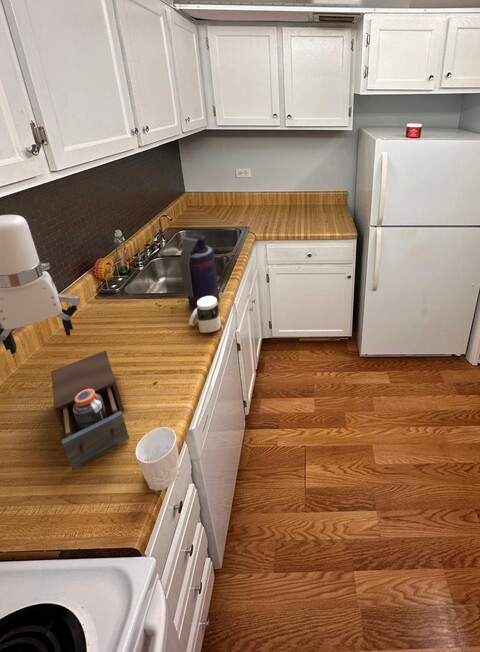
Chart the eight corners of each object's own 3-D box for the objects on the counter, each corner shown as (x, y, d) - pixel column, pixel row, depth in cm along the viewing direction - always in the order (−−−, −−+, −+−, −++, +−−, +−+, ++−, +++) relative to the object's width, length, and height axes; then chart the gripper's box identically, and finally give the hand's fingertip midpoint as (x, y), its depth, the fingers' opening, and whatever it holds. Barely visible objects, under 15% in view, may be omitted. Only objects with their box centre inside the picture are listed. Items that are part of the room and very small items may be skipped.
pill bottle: (115, 424, 83) (104, 390, 79) (91, 444, 78) (78, 409, 74) (100, 414, 86) (89, 381, 82) (76, 433, 81) (63, 399, 77)
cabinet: (124, 410, 89) (115, 381, 85) (66, 439, 82) (54, 408, 78) (113, 377, 100) (105, 350, 96) (61, 399, 92) (50, 371, 89)
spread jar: (221, 335, 118) (217, 307, 114) (187, 340, 115) (183, 312, 111) (221, 315, 129) (218, 289, 124) (191, 319, 126) (186, 293, 122)
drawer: (134, 454, 77) (126, 429, 74) (74, 488, 71) (63, 462, 68) (118, 401, 91) (111, 378, 88) (67, 426, 84) (57, 402, 81)
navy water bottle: (202, 293, 143) (193, 228, 132) (225, 299, 139) (217, 233, 128) (179, 311, 131) (167, 241, 120) (203, 317, 127) (193, 247, 116)
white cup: (160, 501, 69) (151, 470, 66) (136, 481, 73) (127, 450, 69) (190, 467, 76) (183, 437, 72) (167, 451, 79) (160, 421, 75)
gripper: (68, 257, 76) (85, 318, 82) (-38, 279, 66) (-9, 348, 72) (71, 269, 71) (89, 334, 77) (-44, 296, 61) (-12, 368, 67)
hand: (42, 341), depth 75 cm, fingers open, 9 cm apart
